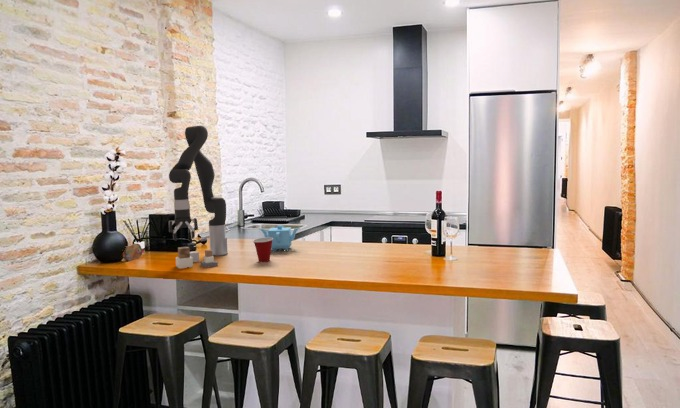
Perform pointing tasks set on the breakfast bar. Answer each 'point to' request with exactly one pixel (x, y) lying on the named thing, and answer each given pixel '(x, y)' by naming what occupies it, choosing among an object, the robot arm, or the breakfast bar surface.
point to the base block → (184, 262)
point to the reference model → (209, 259)
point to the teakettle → (280, 237)
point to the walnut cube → (183, 252)
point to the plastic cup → (263, 248)
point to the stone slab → (132, 252)
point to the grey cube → (195, 256)
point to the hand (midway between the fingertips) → (184, 239)
